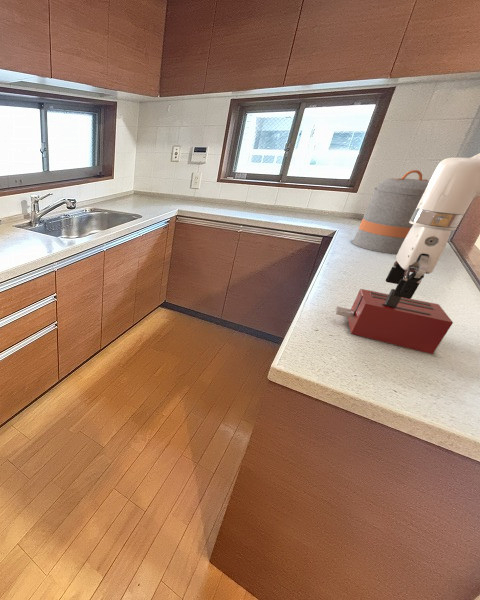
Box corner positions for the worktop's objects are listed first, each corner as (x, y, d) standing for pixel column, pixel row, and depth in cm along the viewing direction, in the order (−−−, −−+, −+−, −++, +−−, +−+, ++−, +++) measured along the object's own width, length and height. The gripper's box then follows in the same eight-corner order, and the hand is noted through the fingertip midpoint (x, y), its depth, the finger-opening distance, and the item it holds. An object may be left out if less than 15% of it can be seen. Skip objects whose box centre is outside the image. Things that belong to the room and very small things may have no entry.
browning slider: (394, 305, 81) (402, 290, 79) (395, 307, 79) (403, 293, 78) (384, 303, 82) (391, 288, 80) (385, 305, 80) (392, 291, 79)
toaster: (420, 333, 86) (439, 303, 82) (432, 354, 78) (453, 322, 74) (346, 316, 94) (360, 288, 90) (350, 333, 86) (365, 303, 81)
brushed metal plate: (351, 313, 90) (353, 309, 89) (352, 318, 87) (354, 314, 87) (335, 310, 91) (337, 306, 91) (336, 314, 89) (337, 310, 89)
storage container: (368, 251, 150) (404, 171, 134) (342, 238, 170) (371, 166, 154) (423, 255, 147) (467, 173, 131) (390, 241, 166) (425, 169, 150)
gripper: (474, 230, 62) (427, 307, 70) (445, 215, 76) (409, 281, 83) (422, 223, 66) (383, 298, 74) (403, 210, 79) (372, 275, 87)
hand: (397, 289), depth 79 cm, fingers open, 9 cm apart
